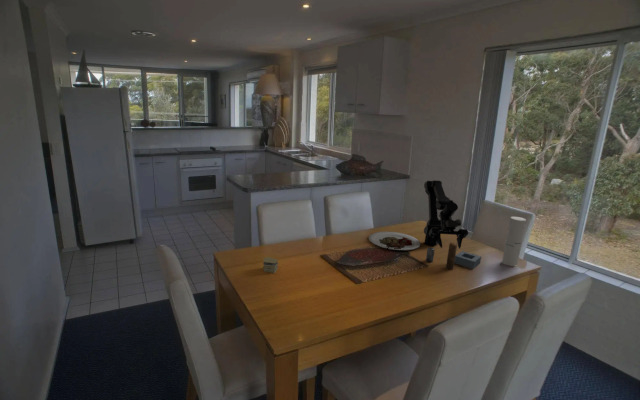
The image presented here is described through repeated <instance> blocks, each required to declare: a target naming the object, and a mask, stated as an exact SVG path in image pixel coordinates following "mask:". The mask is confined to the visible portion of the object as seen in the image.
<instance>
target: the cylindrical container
mask: <svg viewBox="0 0 640 400" xmlns="http://www.w3.org/2000/svg"><path fill="white" fill-rule="evenodd" d="M526 222H527V218H524V217H521V216H520V217H519V216H510V219H509V223H508V228H507V234H506V240H505V244H504V250H503V254H502V261H501V263H502V264H504V265H506V266H509V265H510V266H511V267H516V266H515V265H517V266H518V262H519V257H520V251H521V247H522V242H523V237H524V232H525V226H526Z"/></svg>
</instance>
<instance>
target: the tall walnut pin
mask: <svg viewBox="0 0 640 400" xmlns="http://www.w3.org/2000/svg"><path fill="white" fill-rule="evenodd" d="M448 245H449V246H448V251H447V257H446V258H447V259H446V265H445V268H446V269H448V270H454V267H455V263H454V262H455V256H456V255H457V248H458V243H457V242H454V241H453V242H452V241H451V242H449V244H448Z"/></svg>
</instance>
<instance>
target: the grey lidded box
mask: <svg viewBox="0 0 640 400" xmlns="http://www.w3.org/2000/svg"><path fill="white" fill-rule="evenodd" d="M278 261H279V259H277V258H273V257H270V256H269V257H268V256H266V257H263V263H262V265H263V267H262V269H263V272H264V273H269V274H276V272H277V271H278V268H279V266H278V264H279V262H278Z"/></svg>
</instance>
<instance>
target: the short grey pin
mask: <svg viewBox="0 0 640 400" xmlns="http://www.w3.org/2000/svg"><path fill="white" fill-rule="evenodd" d="M426 249H427V250H426V257H425V261H426V262H427V263H433V262H434V256H435V248H433V247H432V246H430V247H429V246H428V247H427V248H426Z"/></svg>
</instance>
